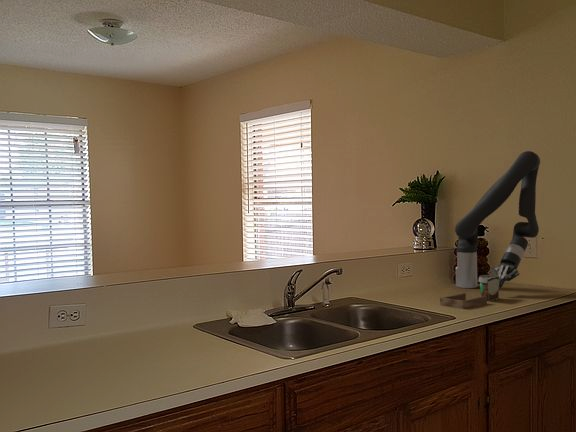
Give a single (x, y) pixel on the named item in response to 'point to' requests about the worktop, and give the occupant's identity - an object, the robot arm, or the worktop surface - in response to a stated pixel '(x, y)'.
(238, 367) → the worktop surface
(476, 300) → the bay
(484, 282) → the food container
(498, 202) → the robot arm
